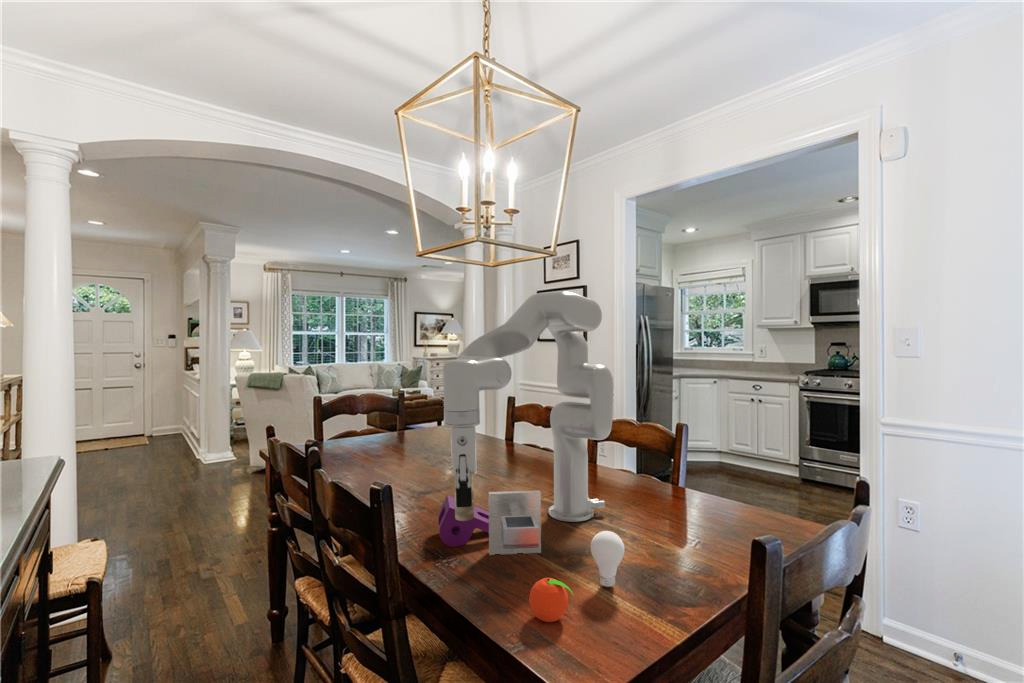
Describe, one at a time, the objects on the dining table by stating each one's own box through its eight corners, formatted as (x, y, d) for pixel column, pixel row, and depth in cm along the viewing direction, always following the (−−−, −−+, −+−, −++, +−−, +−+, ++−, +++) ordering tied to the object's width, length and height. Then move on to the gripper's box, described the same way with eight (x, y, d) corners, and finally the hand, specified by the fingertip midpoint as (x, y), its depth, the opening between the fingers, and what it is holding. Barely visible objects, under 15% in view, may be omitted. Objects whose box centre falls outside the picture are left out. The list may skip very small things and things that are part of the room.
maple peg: (473, 513, 106) (472, 458, 106) (474, 520, 102) (472, 463, 102) (455, 514, 106) (454, 459, 105) (454, 521, 102) (453, 464, 101)
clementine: (576, 611, 88) (576, 572, 88) (571, 634, 81) (571, 592, 81) (533, 605, 90) (533, 567, 90) (525, 627, 83) (525, 586, 83)
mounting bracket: (495, 550, 127) (433, 525, 124) (509, 520, 128) (447, 494, 125) (501, 566, 118) (433, 540, 115) (516, 534, 119) (449, 507, 116)
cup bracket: (540, 549, 114) (539, 490, 114) (550, 582, 99) (550, 513, 99) (488, 552, 113) (488, 492, 113) (491, 585, 98) (491, 515, 98)
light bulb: (584, 587, 97) (583, 532, 97) (603, 575, 101) (603, 523, 101) (612, 599, 92) (612, 541, 92) (631, 586, 97) (630, 531, 97)
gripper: (480, 424, 95) (482, 516, 96) (479, 410, 112) (480, 488, 112) (442, 426, 94) (444, 518, 95) (446, 411, 111) (448, 490, 112)
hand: (464, 501), depth 104 cm, fingers closed on maple peg, 4 cm apart
